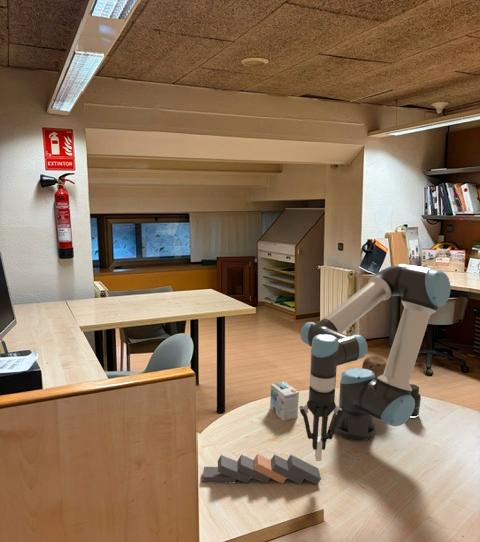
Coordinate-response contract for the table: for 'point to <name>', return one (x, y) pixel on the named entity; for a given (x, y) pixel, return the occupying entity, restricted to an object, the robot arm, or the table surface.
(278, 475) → the domino
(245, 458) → the domino
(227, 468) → the domino
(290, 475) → the domino
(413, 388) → the supplement bottle
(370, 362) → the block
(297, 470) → the domino
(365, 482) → the table surface
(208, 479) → the domino
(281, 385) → the light bulb box
